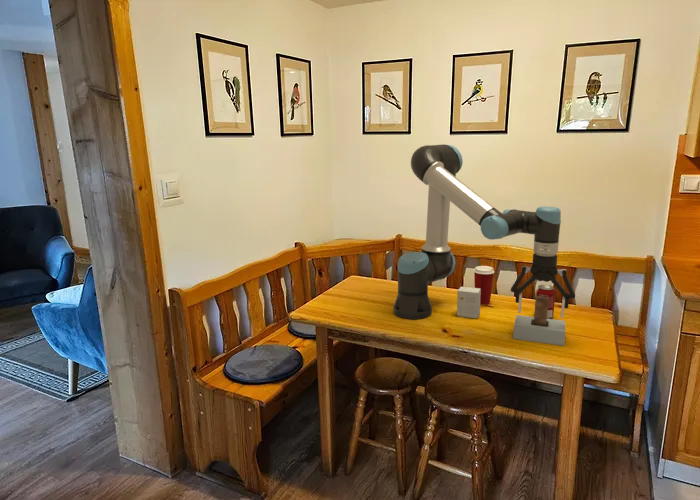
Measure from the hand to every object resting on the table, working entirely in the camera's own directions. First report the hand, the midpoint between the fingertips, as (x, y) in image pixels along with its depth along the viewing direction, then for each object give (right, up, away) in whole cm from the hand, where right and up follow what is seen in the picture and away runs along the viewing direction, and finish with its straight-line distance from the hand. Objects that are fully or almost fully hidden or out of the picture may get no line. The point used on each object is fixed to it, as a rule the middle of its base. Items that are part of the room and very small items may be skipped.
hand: (540, 314), depth 162 cm
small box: (-19, -4, +23) cm, 30 cm away
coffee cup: (-10, 0, +36) cm, 37 cm away
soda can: (+9, -4, +19) cm, 22 cm away
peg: (0, -8, +2) cm, 8 cm away
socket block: (0, -8, +2) cm, 8 cm away
